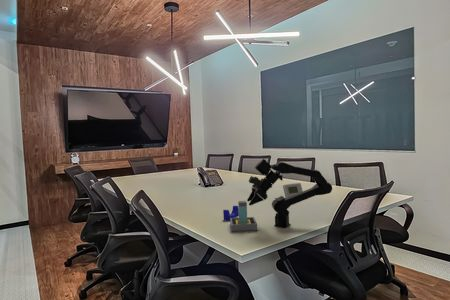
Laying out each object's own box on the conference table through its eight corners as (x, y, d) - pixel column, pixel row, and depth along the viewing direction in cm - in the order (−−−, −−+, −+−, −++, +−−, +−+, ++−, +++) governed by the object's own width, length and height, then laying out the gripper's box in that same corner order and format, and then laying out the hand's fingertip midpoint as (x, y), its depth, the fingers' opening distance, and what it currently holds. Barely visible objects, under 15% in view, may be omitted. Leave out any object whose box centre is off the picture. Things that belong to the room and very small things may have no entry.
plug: (246, 225, 158) (245, 200, 157) (247, 227, 154) (246, 202, 153) (239, 225, 158) (238, 201, 157) (239, 227, 154) (238, 202, 153)
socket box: (254, 223, 163) (253, 216, 163) (257, 230, 150) (257, 223, 150) (230, 224, 162) (230, 218, 162) (231, 232, 149) (231, 225, 149)
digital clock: (285, 200, 217) (285, 185, 216) (280, 197, 226) (280, 183, 225) (306, 198, 220) (305, 183, 220) (300, 195, 229) (300, 182, 229)
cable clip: (230, 221, 169) (229, 210, 169) (223, 220, 172) (223, 210, 171) (240, 216, 179) (240, 206, 179) (234, 215, 182) (234, 205, 181)
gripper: (255, 168, 164) (236, 189, 165) (260, 172, 146) (238, 196, 146) (270, 182, 165) (250, 202, 165) (276, 188, 146) (255, 211, 146)
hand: (248, 203), depth 156 cm, fingers open, 9 cm apart
